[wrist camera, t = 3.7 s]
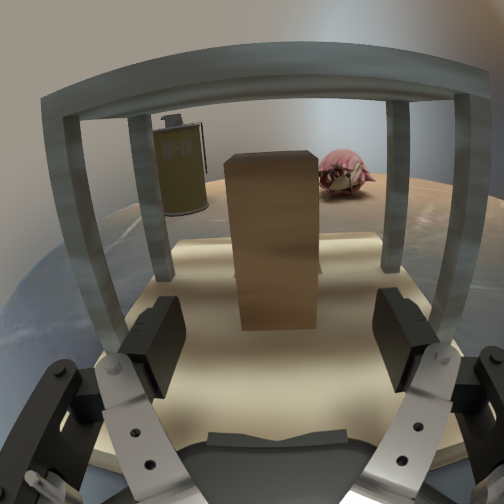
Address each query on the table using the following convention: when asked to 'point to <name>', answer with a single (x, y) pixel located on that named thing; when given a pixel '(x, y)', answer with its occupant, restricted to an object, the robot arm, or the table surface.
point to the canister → (180, 167)
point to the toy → (343, 172)
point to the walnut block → (275, 237)
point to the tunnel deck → (221, 255)
